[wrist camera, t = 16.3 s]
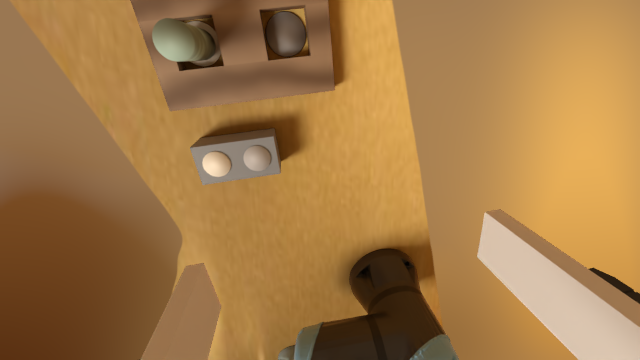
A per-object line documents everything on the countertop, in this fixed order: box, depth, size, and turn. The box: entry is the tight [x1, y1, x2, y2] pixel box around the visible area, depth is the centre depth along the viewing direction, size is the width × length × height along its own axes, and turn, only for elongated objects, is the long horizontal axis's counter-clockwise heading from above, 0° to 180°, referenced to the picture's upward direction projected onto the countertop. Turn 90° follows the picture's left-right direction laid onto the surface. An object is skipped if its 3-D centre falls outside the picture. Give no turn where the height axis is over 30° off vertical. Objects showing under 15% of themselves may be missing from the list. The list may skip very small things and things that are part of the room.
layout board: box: [131, 0, 335, 111], centre depth 35 cm, size 16×24×2 cm, turn 96°
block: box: [190, 128, 281, 185], centre depth 41 cm, size 6×12×5 cm, turn 96°
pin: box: [152, 18, 216, 62], centre depth 31 cm, size 4×4×10 cm
